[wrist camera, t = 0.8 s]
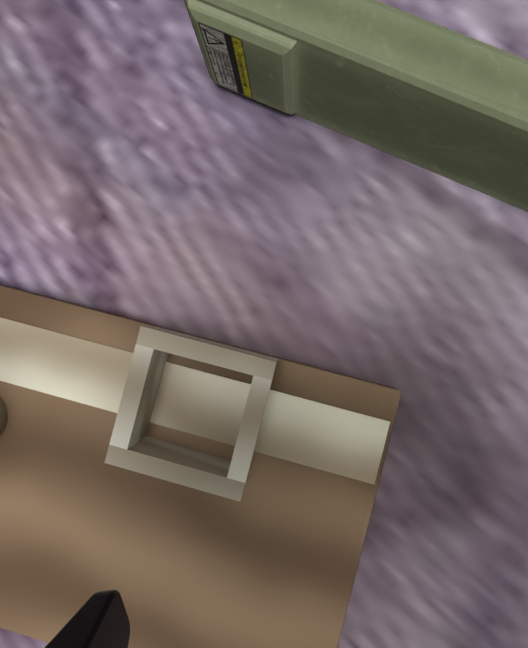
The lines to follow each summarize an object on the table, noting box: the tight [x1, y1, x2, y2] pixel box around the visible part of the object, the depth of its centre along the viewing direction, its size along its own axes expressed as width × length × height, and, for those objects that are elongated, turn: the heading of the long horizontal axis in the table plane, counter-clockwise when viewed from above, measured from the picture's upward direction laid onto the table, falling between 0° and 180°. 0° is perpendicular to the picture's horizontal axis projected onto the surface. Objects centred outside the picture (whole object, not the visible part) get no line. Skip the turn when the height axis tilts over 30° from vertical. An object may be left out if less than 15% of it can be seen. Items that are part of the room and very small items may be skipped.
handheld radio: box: [184, 0, 528, 211], centre depth 19 cm, size 7×3×25 cm
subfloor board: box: [0, 284, 402, 648], centre depth 20 cm, size 16×23×4 cm
